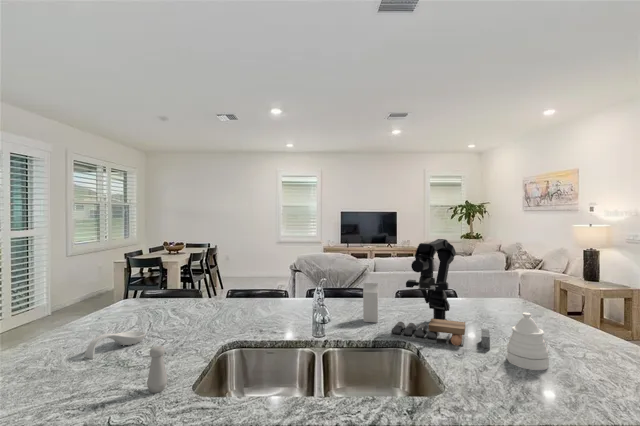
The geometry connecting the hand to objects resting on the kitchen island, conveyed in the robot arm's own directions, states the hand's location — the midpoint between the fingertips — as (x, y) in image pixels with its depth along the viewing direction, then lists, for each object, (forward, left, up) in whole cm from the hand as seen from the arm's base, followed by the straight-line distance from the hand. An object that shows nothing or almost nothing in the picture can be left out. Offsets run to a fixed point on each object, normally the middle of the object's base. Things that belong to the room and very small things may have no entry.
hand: (427, 303), depth 162 cm
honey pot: (+24, +38, -12) cm, 47 cm away
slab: (+12, +10, -8) cm, 17 cm away
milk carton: (-2, -28, -12) cm, 31 cm away
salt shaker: (+93, -68, -12) cm, 116 cm away
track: (+12, +2, -12) cm, 17 cm away
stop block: (+12, +25, -12) cm, 30 cm away
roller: (+12, +13, -12) cm, 21 cm away
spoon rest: (+75, -112, -12) cm, 136 cm away
